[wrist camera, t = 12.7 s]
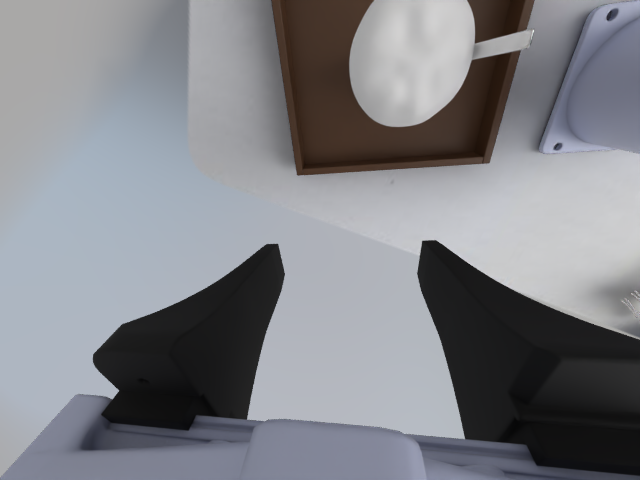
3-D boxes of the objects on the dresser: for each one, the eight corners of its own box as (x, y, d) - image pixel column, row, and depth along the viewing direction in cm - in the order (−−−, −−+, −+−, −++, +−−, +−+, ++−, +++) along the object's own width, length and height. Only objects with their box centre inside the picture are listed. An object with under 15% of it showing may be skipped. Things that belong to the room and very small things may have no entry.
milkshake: (427, 107, 16) (508, 124, 8) (350, 116, 17) (351, 139, 9) (437, 21, 14) (566, -83, 6) (348, 36, 15) (345, -37, 6)
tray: (536, -85, 12) (566, -114, 10) (476, 156, 18) (489, 163, 17) (273, -34, 14) (263, -51, 12) (301, 168, 20) (297, 175, 19)
